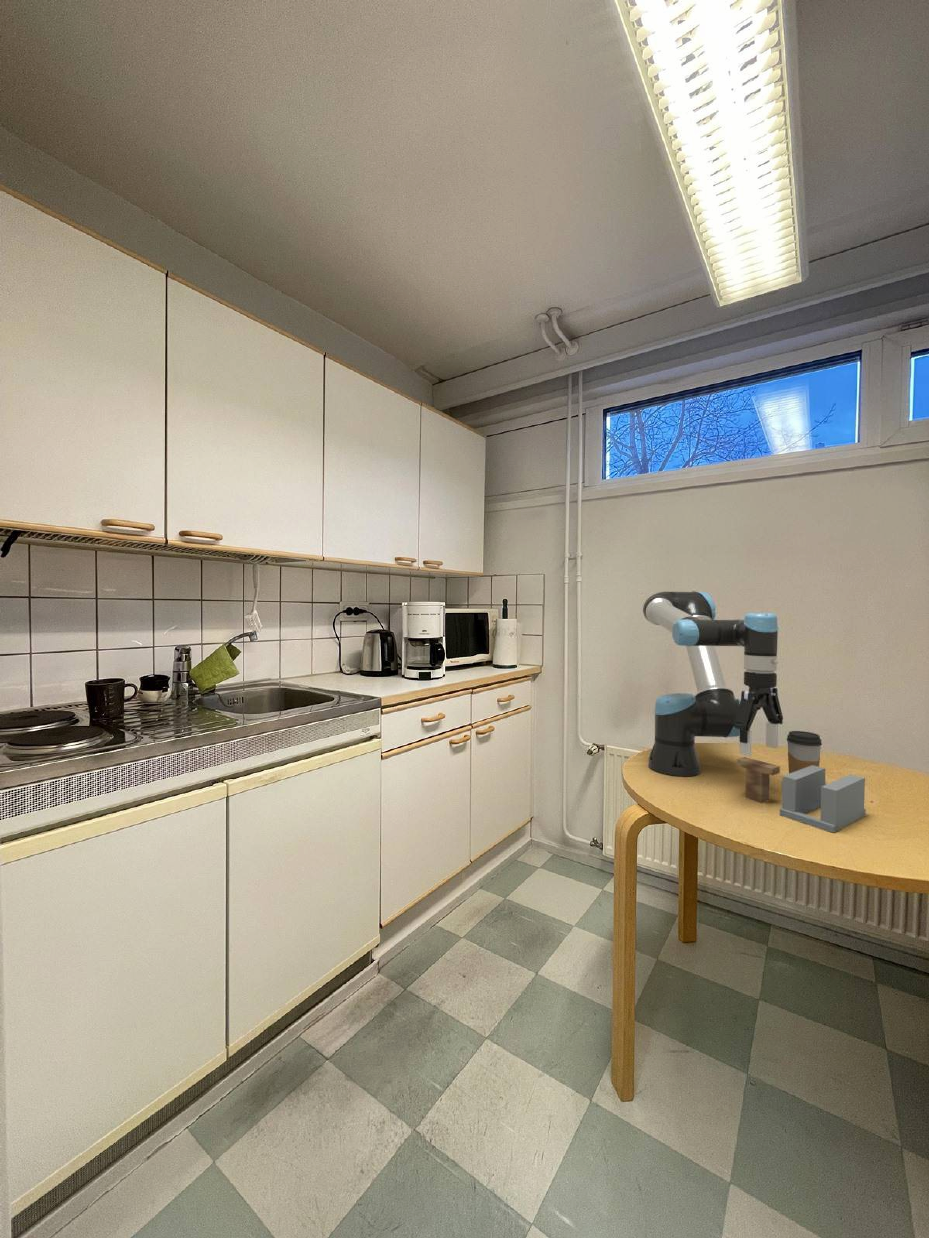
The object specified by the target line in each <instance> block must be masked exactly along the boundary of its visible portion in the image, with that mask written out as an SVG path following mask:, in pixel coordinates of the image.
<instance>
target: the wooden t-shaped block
mask: <svg viewBox="0 0 929 1238" xmlns="http://www.w3.org/2000/svg"><path fill="white" fill-rule="evenodd" d="M736 760H737V762H736V764H737V765H736V766H737V767H739V768H744V769H746V770H745V774H746V775H745V799H746V800H747V799H748V800H750V801H754V802H757V803H760V804H763V803H765V802H769V800H770V783H771V781H770V779H771V777H770V776H775V775H777V774H780V773H781V772H780V771H781V770H780V769H781V766H780V765H777V764H773V763H770V762H766V761H761V760H758V759H757V760H756V759H754V758H749V757H747V756H746V757H745V756H743V757H741V758H738V759H736Z"/></svg>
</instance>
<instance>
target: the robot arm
mask: <svg viewBox="0 0 929 1238" xmlns="http://www.w3.org/2000/svg"><path fill="white" fill-rule="evenodd" d="M642 612H643V616H644V617H645V618H644V619H646V620H647V621H648V622H649V623H651V624H653V625H655V626H661V627H662V628H664V629H665V630H666V631H668V632H670V633H671V634H672V639H673V642H674V643H675V644H676V645H677V646H683V647H684V646H685V647H686V651H687V655H688V659H689V663H690V666H691V671H692V675H693V677H694V683H695V686H696V690H697V692H696V693H695V695H694V694H691V693H681V692H677V693H667V694H664V695H661V696H658V697H657V698H656V700H655V705H654V706H655V708H654V743H653V746H652V749H651V751H650V755H649V756H648V764H647V765H648V767H649V769H650V770H652V771H655V772H657V773H660V774H663V775H668V776H673V777H674V776H676V777H692V776H694V777H695V776H697V775H699V774H700V773H701V763H700V761H699V760H700V759H699V757H698V753H697V749H696V747H695V745H696V744H695V741H696V737H707V738H708V737H709V738H710V737H711V738H713V737H715V738H733V737H735V738H736V737H738V739H739V740H738V742H739V743H738V748H739V749H738V750H739V751H738V752H739V755H742V756H746V757H751V756H752V735H753V734H752V733H753V730H751V727H752V725H753V722H754V720H755V718H756V715H757V712H758V711H759V710H761V709H762V711H763V713H764V714H765V717H766V720H767V721H768V722H766V724H765V726H766V727H765V747H767V748H773V749H778V747H779V725H783V723H784V721H783V719H784V716H783V711H782V709H781V703H780V699H779V695H778V688H777V686H778V685H777V681H778V680H777V679H778V678H777V676H778V675H777V673H776V672H777V669H778V667H777V665H778V663H779V660H778V659H777V658H778V637H779V636H778V633H779V632H778V631H779V626H778V616H777V615H776V614H775V613H759V612H758V613H753V612H752V613H746V614H745V616H744V619H740V618H739V619H715V618H716V615H717V614H716V613H717V611H716V603H715V601H714V599H713V597H712V596H711V595H710V594H709V593H707V592H704V591H697V590H693V591H659V592H657V593H654V594H652V595H651V596H649V597H648V598H647V599H646V600H645V602H644V604H643V606H642ZM715 647H741V648H743V650H744V651H743V670H745V671H744V672H743V685H745V686H746V687H748V691H747V690H742V691H741V692H740V693H741V695H740V696H741V697H740V699H739V698H736V697H735V694H734V691H733V690H732V689H730V688H728V687H727V684H726V680H725V679H724V675H723V671H722V667H721V663H720V661H719V658H718V654H717V651H716V648H715Z"/></svg>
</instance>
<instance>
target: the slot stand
mask: <svg viewBox="0 0 929 1238" xmlns="http://www.w3.org/2000/svg"><path fill="white" fill-rule="evenodd" d="M781 780H782V781H781V808H780V809H779V816H781V817H784V818H786V819H791V820H792V821H797V822H799V823H802V824H805V825H809V826H811V827H814V828H817V829H820V830H824V831H826V832H829V833H832V834H834V833H836V832H838V831H840V830H842V829H844V828H845V827H847V826H849V825H851V824H853V823H854V822H856V821H858V820H860V819H861V818H863V817H865V816H867V815H866V814H867V813H866V812H867V810H866V808H865V791H866V777H863V776H858V775H855V774H848V775H846V776H844V777H843V776H842V777H841V778H838V779H836V780H834V781H832V782H829V783H827V784H826V767H821V766H819V767H818V766H814V765H811V766H809V767H806V768H803V769H801V770H798V771H795V772H792V773H790V774H789V773H787V774H784V775H782V777H781ZM818 808H820V818H818V817H815V816H812V815H808V814H807V813H810V812H812V811H813V810H817V809H818Z"/></svg>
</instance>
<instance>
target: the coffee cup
mask: <svg viewBox="0 0 929 1238" xmlns="http://www.w3.org/2000/svg"><path fill="white" fill-rule="evenodd" d="M786 737H787V738H786V741H787V761H788V762H787V763H788V774H790V773H792V772H795V771H798V770H801V769H803V768H806V767H809V766H811V765H814V766H818V767H820V761H821V748H822V745H823V744H822V739H821V736H820V734H817V733H815V732H810V731H804V730H803V731H802V730H791V731H788V734H787V736H786Z"/></svg>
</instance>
